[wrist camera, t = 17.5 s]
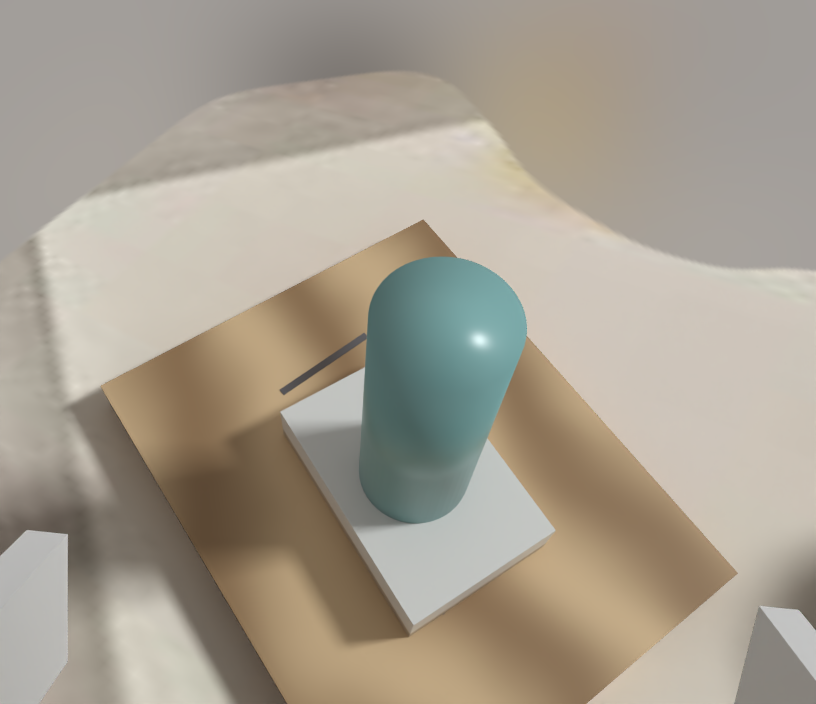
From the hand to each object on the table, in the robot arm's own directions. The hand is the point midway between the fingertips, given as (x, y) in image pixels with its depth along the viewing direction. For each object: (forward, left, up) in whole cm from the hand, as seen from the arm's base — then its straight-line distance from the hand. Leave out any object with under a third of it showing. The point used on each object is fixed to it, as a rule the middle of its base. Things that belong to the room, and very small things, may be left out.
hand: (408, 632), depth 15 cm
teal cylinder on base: (-5, -6, -13) cm, 15 cm away
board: (-6, -6, -14) cm, 17 cm away
